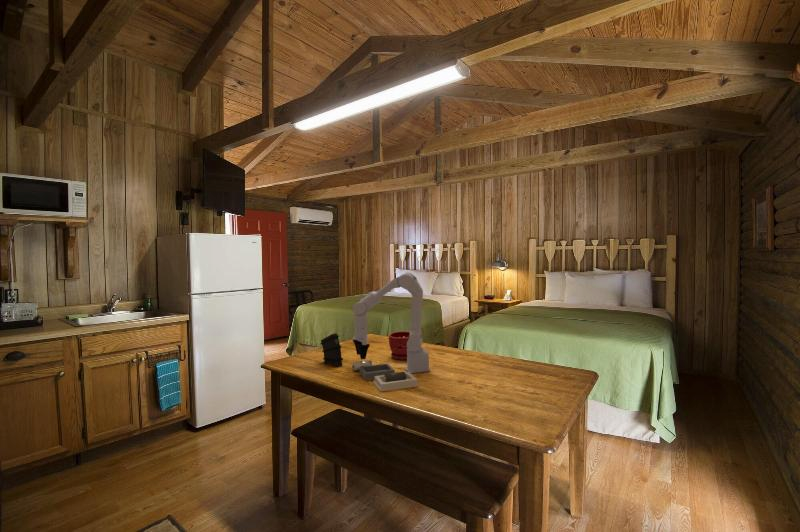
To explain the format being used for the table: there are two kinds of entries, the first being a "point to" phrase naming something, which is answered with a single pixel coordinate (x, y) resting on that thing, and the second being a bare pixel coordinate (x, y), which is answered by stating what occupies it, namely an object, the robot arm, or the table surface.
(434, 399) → the table surface
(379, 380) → the trough board
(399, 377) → the cylinder
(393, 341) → the plant pot
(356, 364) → the silver cell
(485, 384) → the table surface
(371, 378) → the bin
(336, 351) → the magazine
